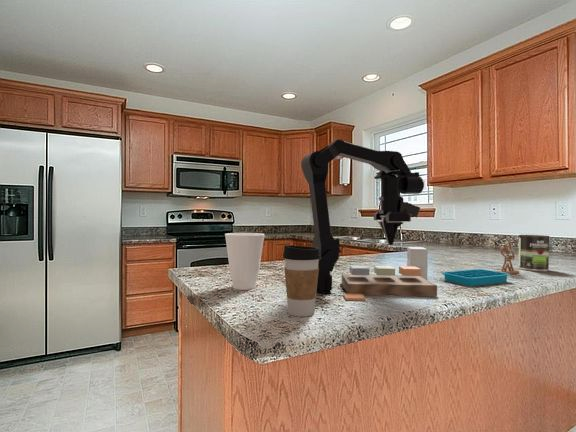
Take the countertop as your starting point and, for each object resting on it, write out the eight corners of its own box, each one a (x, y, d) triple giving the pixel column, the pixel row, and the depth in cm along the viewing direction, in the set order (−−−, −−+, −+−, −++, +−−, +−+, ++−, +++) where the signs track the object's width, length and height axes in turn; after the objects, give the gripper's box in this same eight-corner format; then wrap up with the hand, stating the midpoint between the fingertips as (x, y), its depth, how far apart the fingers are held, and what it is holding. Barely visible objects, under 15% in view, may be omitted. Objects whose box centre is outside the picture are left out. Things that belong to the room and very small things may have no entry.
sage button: (377, 275, 98) (377, 268, 98) (374, 272, 103) (374, 265, 103) (395, 275, 98) (395, 268, 98) (390, 272, 103) (390, 266, 103)
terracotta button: (403, 275, 98) (403, 268, 98) (398, 272, 103) (398, 266, 103) (421, 276, 98) (421, 269, 98) (415, 272, 103) (415, 266, 103)
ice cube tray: (439, 281, 114) (439, 272, 114) (480, 277, 122) (480, 268, 122) (469, 288, 104) (470, 278, 104) (512, 283, 112) (512, 274, 112)
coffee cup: (281, 307, 79) (281, 244, 79) (316, 307, 80) (317, 244, 80) (283, 319, 71) (284, 247, 71) (323, 318, 71) (324, 247, 71)
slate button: (352, 274, 99) (352, 268, 99) (349, 272, 104) (349, 265, 104) (369, 275, 98) (369, 268, 98) (365, 272, 103) (366, 265, 103)
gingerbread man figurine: (509, 271, 132) (509, 241, 132) (519, 273, 129) (520, 242, 128) (495, 273, 128) (495, 242, 128) (505, 275, 124) (506, 243, 124)
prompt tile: (345, 300, 86) (345, 298, 86) (343, 295, 91) (343, 293, 91) (365, 300, 86) (365, 298, 86) (361, 295, 91) (361, 293, 91)
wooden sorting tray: (348, 294, 92) (348, 283, 92) (341, 283, 107) (341, 274, 107) (436, 296, 91) (437, 285, 91) (417, 284, 106) (417, 275, 106)
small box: (427, 280, 114) (427, 249, 114) (410, 279, 115) (410, 248, 115) (423, 275, 122) (423, 246, 122) (406, 275, 123) (407, 246, 123)
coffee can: (554, 272, 133) (555, 236, 133) (526, 271, 134) (526, 235, 134) (539, 267, 143) (540, 234, 143) (513, 267, 145) (513, 234, 144)
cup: (259, 282, 108) (259, 232, 108) (268, 290, 97) (269, 234, 97) (221, 284, 105) (222, 232, 104) (227, 292, 93) (227, 235, 93)
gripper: (429, 191, 94) (429, 247, 94) (406, 195, 112) (406, 241, 113) (389, 192, 94) (389, 247, 94) (373, 195, 113) (373, 241, 113)
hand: (390, 244), depth 103 cm, fingers closed
